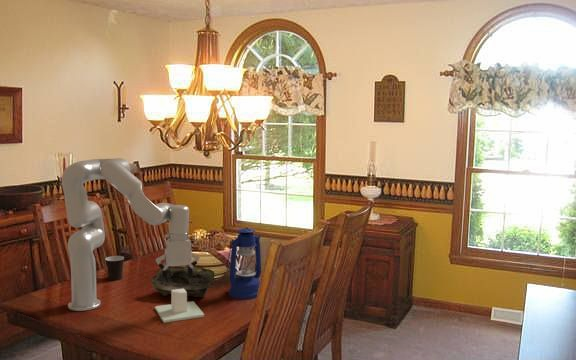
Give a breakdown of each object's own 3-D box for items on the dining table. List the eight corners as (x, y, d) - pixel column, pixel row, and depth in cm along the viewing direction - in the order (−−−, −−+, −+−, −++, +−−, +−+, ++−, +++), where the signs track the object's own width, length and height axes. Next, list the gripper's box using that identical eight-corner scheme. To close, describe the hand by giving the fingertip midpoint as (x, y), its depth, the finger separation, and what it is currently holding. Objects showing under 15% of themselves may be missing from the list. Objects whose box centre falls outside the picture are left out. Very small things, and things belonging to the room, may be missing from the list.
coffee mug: (121, 281, 250) (120, 261, 249) (102, 281, 250) (102, 260, 249) (128, 274, 262) (128, 254, 260) (111, 273, 262) (111, 254, 260)
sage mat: (155, 308, 217) (155, 306, 217) (193, 303, 224) (193, 301, 223) (163, 322, 202) (163, 320, 202) (204, 316, 209) (204, 314, 209)
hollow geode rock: (214, 308, 231) (223, 277, 240) (207, 296, 221) (217, 264, 230) (155, 300, 237) (166, 270, 246) (146, 287, 227) (158, 257, 236)
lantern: (239, 302, 227) (240, 233, 223) (219, 292, 238) (220, 227, 234) (271, 293, 238) (272, 228, 234) (250, 285, 249) (251, 222, 246)
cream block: (171, 309, 214) (171, 289, 213) (183, 307, 216) (183, 288, 215) (174, 313, 210) (174, 293, 209) (186, 311, 212) (186, 292, 211)
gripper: (158, 239, 202) (157, 283, 204) (202, 237, 210) (201, 279, 212) (154, 235, 209) (153, 277, 211) (197, 233, 216) (195, 273, 218)
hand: (177, 278), depth 211 cm, fingers open, 9 cm apart
